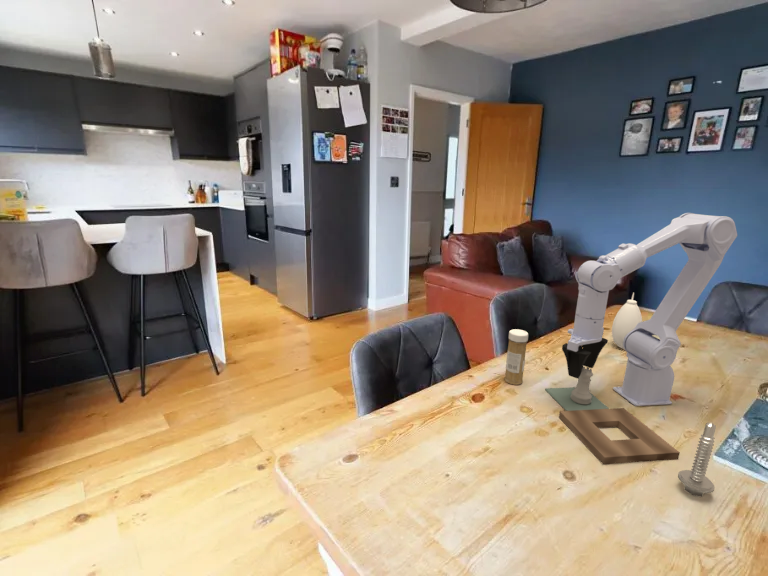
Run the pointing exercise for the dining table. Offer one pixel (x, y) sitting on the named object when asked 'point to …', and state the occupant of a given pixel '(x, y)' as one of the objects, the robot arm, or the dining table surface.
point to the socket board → (635, 449)
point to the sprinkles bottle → (516, 356)
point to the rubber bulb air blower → (625, 321)
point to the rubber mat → (568, 404)
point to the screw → (700, 465)
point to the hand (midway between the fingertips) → (581, 371)
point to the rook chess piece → (583, 388)
